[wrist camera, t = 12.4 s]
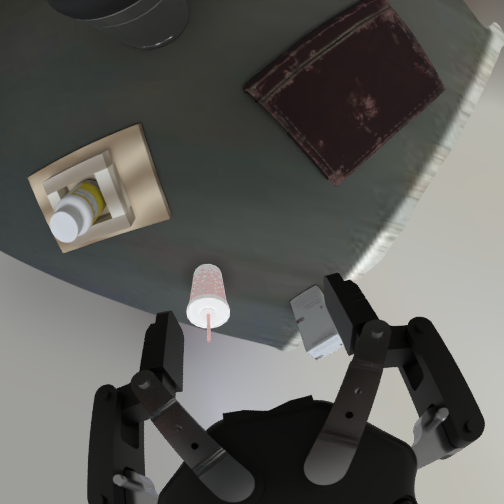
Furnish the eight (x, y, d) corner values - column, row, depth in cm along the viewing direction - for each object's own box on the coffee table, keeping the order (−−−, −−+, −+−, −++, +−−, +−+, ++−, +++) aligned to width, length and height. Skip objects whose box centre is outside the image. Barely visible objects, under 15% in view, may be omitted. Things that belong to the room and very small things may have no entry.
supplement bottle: (82, 215, 35) (53, 250, 27) (72, 181, 32) (38, 210, 24) (113, 209, 35) (88, 245, 27) (104, 173, 32) (74, 201, 24)
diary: (240, 88, 31) (243, 87, 27) (362, -2, 24) (379, -10, 20) (327, 181, 40) (341, 192, 35) (428, 91, 32) (448, 93, 28)
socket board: (32, 174, 31) (17, 184, 27) (140, 122, 31) (131, 126, 27) (66, 248, 39) (56, 263, 35) (171, 214, 39) (167, 228, 35)
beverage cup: (185, 263, 43) (179, 328, 32) (222, 257, 44) (228, 321, 32) (194, 292, 47) (192, 357, 35) (228, 286, 47) (236, 351, 35)
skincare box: (315, 283, 49) (338, 332, 39) (326, 296, 52) (348, 343, 42) (287, 301, 51) (305, 352, 41) (299, 313, 53) (317, 362, 43)
